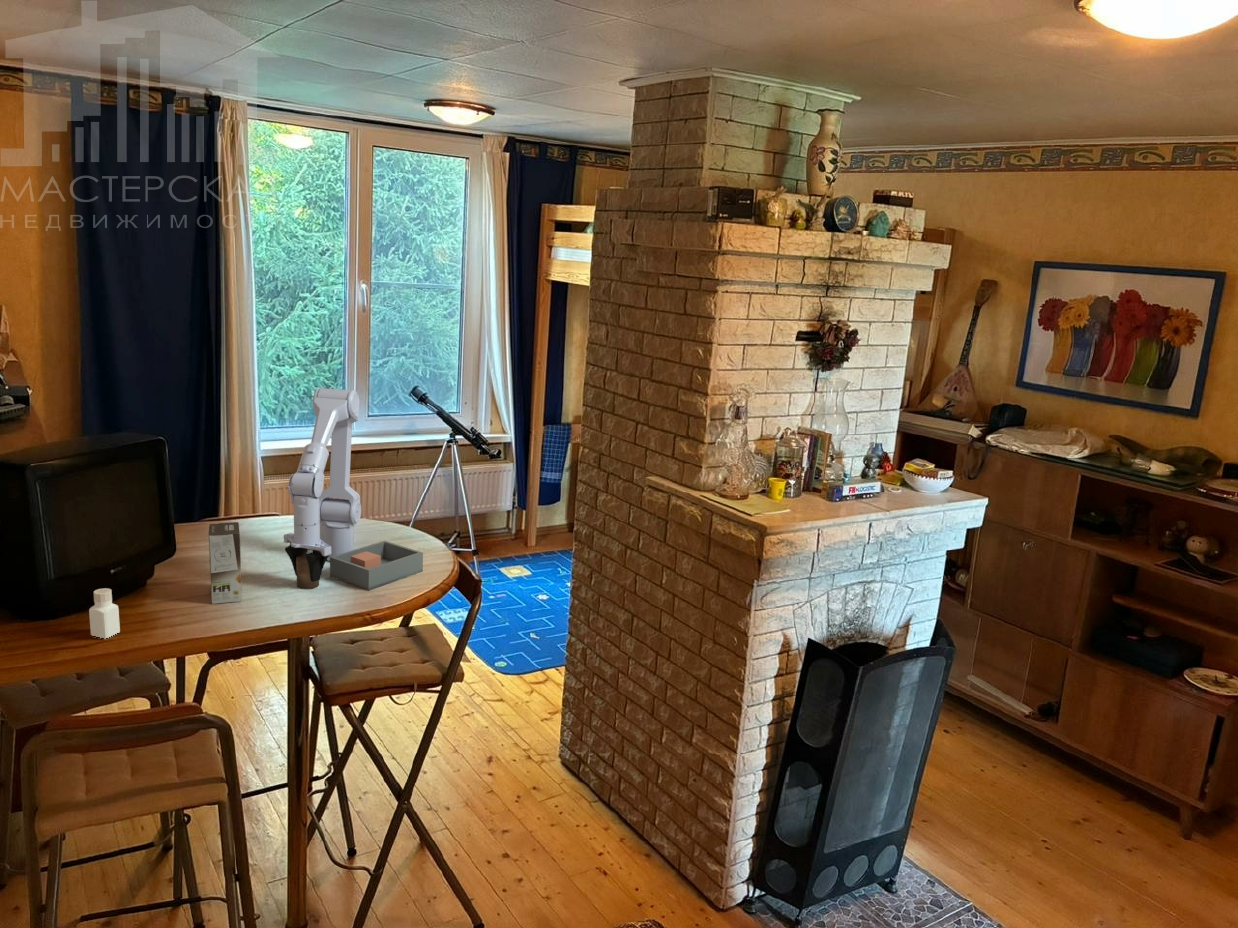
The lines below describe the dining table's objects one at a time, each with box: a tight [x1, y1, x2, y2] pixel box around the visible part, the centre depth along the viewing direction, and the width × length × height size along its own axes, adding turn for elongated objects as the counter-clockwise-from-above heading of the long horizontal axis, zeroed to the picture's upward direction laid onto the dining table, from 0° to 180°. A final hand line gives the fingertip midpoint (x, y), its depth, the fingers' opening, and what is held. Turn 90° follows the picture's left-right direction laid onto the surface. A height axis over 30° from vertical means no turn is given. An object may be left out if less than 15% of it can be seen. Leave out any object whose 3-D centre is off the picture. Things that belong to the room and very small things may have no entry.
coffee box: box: [208, 521, 242, 605], centre depth 210 cm, size 9×6×16 cm
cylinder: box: [296, 554, 320, 590], centre depth 220 cm, size 5×5×7 cm
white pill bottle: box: [88, 587, 121, 640], centre depth 187 cm, size 4×4×10 cm
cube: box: [351, 551, 381, 569], centre depth 227 cm, size 5×5×5 cm
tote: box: [329, 540, 424, 591], centre depth 230 cm, size 14×18×5 cm
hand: (307, 577), depth 220 cm, fingers closed on cylinder, 5 cm apart
